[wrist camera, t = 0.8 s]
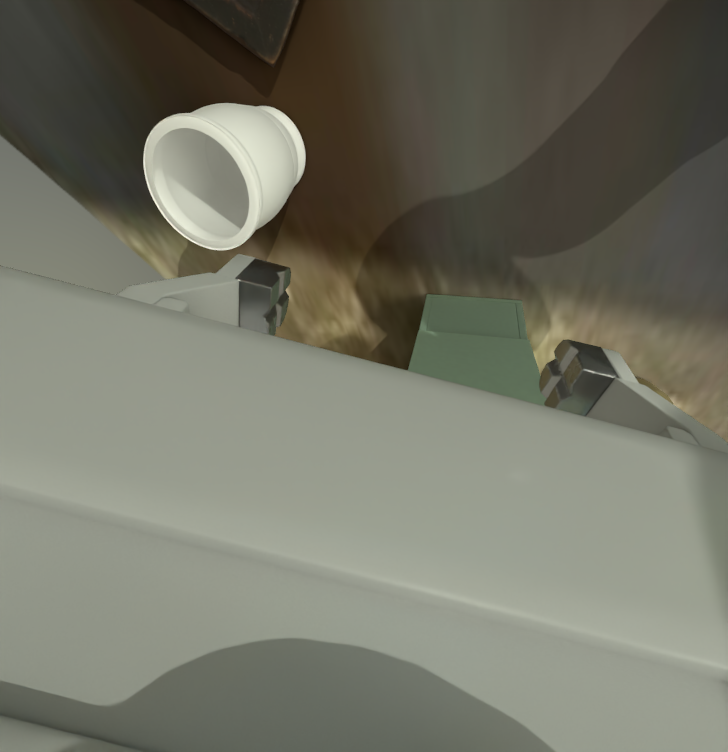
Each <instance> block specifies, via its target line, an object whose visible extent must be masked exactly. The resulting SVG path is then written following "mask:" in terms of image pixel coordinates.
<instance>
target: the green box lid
mask: <svg viewBox="0 0 728 752" xmlns="http://www.w3.org/2000/svg"><path fill="white" fill-rule="evenodd" d="M408 371H411V372H415V373H419V374H423V375H427V376H431V377H435V378H438V379H442V380H446V381H450V382H454V383H458V384H462V385H466V386H469V387H473V388H477V389H481V390H485V391H489V392H493V393H496V394H500V395H504V396H508V397H512V398H516V399H520V400H524V401H527V402H531V403H535V404H539V405H543V406H545V404H544V402H545V401H546V399H547V398H546V397H544V396H543V395H542V394H541V392H540V388H539V381H540V377H541V376H540V373H539V370H538V367H537V364H536V360H535V357H534V354H533V351H532V348H531V344H530V341H529V340H526V339H514V338H502V337H491V336H479V335H468V334H456V333H445V332H433V331H422V330H419V331H418V334H417V338H416V342H415V345H414V349H413V353H412V356H411V360H410V364H409V367H408Z"/></svg>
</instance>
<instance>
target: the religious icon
mask: <svg viewBox="0 0 728 752" xmlns="http://www.w3.org/2000/svg"><path fill="white" fill-rule="evenodd" d="M184 1H185V2H186V3H187V4H189V5H190V6H191V7H193V8H194V9H196V10H197V11H199V12H200V13H201V14H202V15H204V16H205V17H206V18H207V19H209V20H210V21H211V22H212V23H214V24H215V25H216V26H218V27H219V28H220V29H222V30H223V31H224V32H225V33H227V34H228V35H229V36H231V37H232V38H233V39H235V40H236V41H237V42H239V43H240V44H241V45H242V46H244V47H245V48H247V49H248V50H249V51H250V52H252V53H253V54H255V55H256V56H257V57H258V58H260V59H261V60H263V61H264V62H265V63H267V64H268V65H270V66H271V67H275V65H276V62H277V59H278V57H279V55H280V54H281V52H282V50H283V48H284V45H285V43H286V40H287V37H288V34H289V31H290V28H291V25H292V22H293V20H294V16H295V13H296V10H297V7H298V4H299V2H300V0H184Z"/></svg>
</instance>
